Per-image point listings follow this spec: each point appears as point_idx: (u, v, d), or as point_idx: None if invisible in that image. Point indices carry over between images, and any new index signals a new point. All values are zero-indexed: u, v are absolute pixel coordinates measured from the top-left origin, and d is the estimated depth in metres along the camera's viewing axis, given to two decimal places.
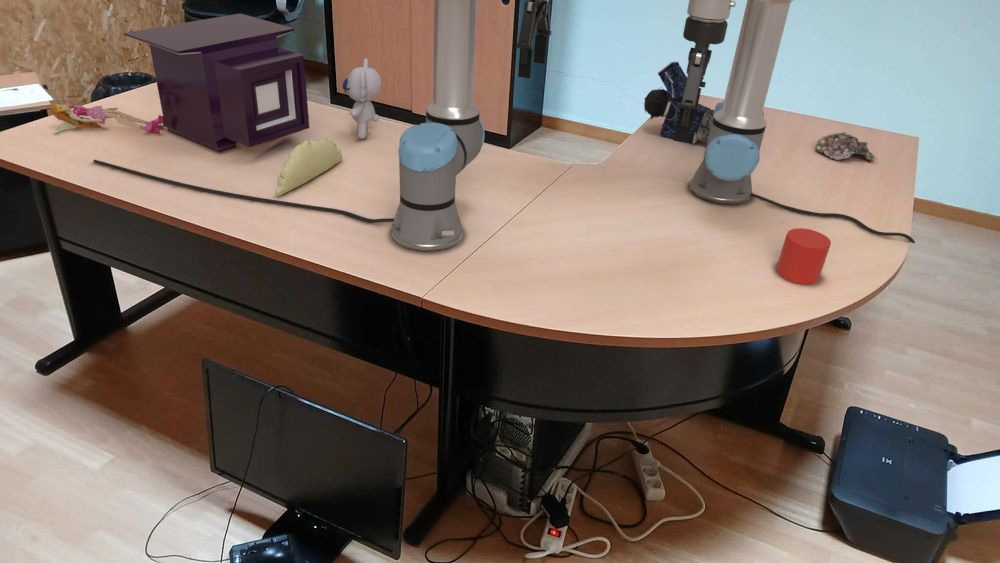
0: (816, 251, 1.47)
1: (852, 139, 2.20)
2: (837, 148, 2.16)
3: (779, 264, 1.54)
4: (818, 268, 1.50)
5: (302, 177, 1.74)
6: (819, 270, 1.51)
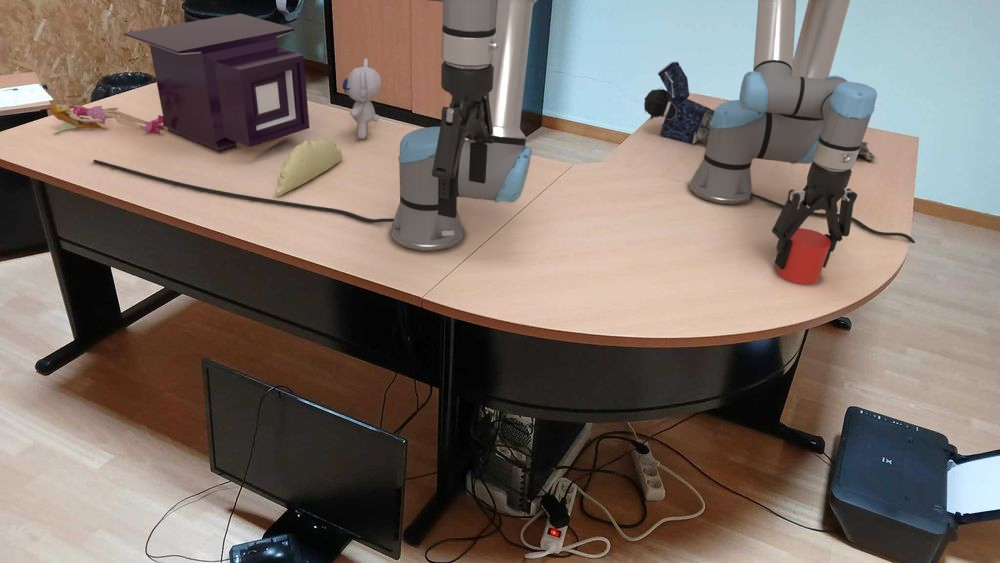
0: (816, 251, 1.47)
1: None
2: None
3: None
4: (818, 268, 1.50)
5: (302, 177, 1.74)
6: (819, 270, 1.51)
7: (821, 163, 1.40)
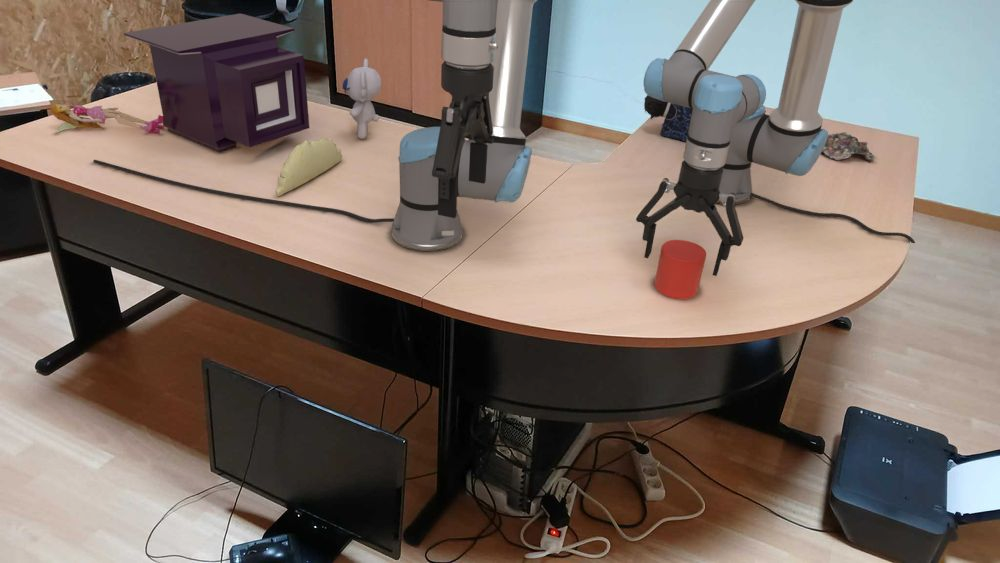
0: (675, 262, 1.40)
1: (852, 139, 2.20)
2: (837, 148, 2.16)
3: None
4: (681, 282, 1.42)
5: (302, 177, 1.74)
6: (684, 286, 1.42)
7: (683, 157, 1.33)
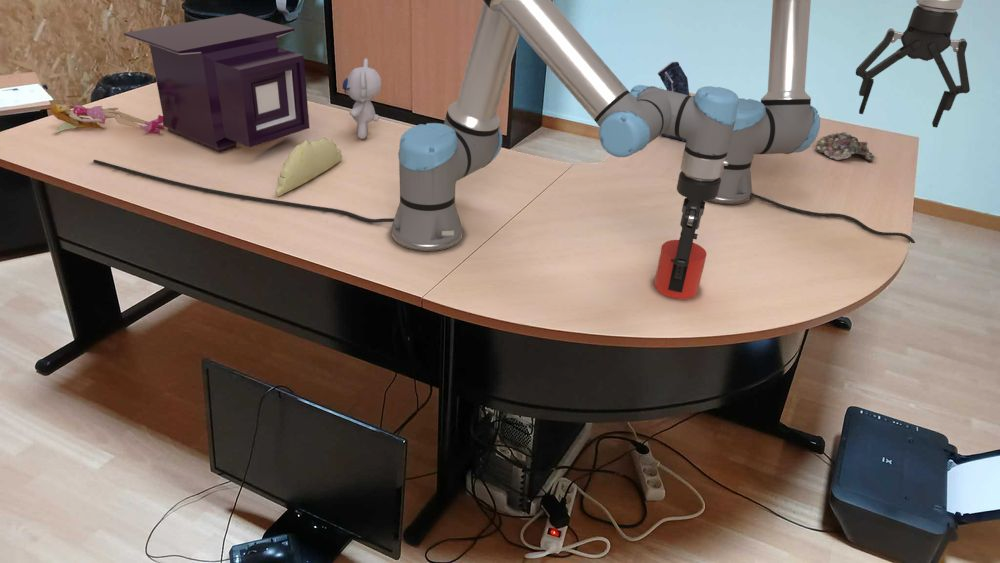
0: None
1: (852, 139, 2.20)
2: (837, 148, 2.16)
3: None
4: None
5: (302, 177, 1.74)
6: (684, 286, 1.42)
7: (918, 1, 1.35)
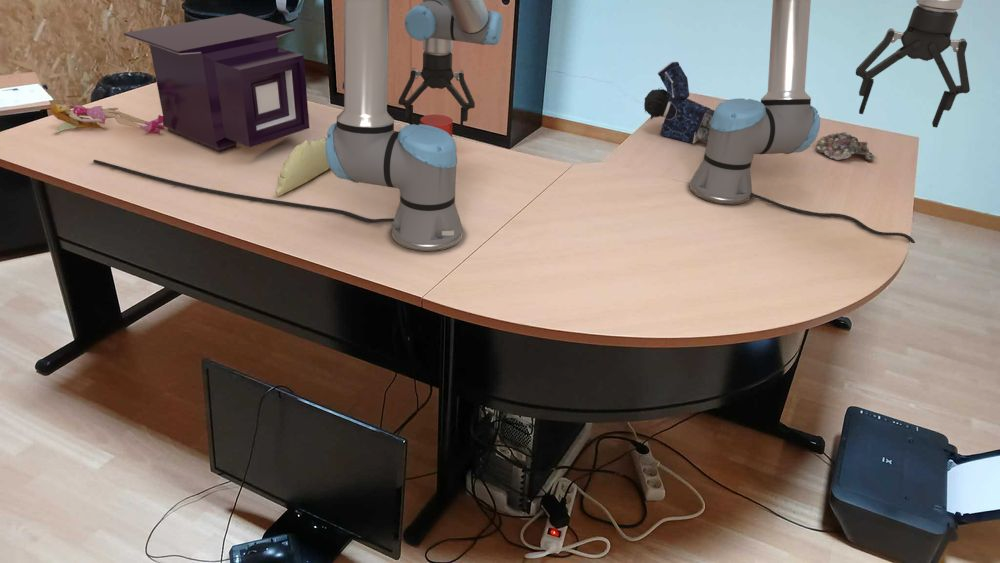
0: (452, 124, 1.97)
1: (852, 139, 2.20)
2: (837, 148, 2.16)
3: None
4: None
5: (302, 177, 1.74)
6: None
7: (918, 1, 1.35)
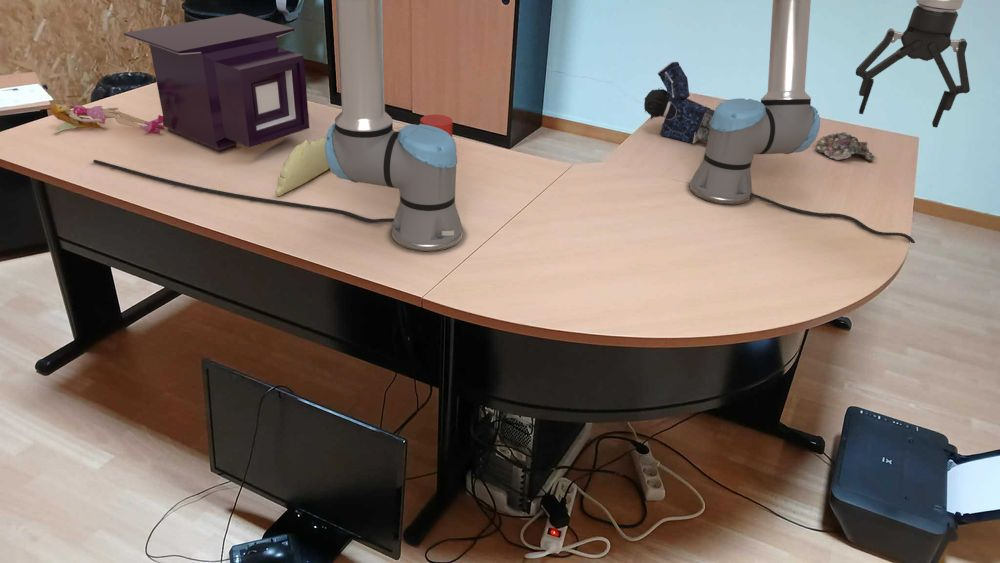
0: (452, 124, 1.97)
1: (852, 139, 2.20)
2: (837, 148, 2.16)
3: None
4: None
5: (302, 177, 1.74)
6: None
7: (918, 1, 1.35)
